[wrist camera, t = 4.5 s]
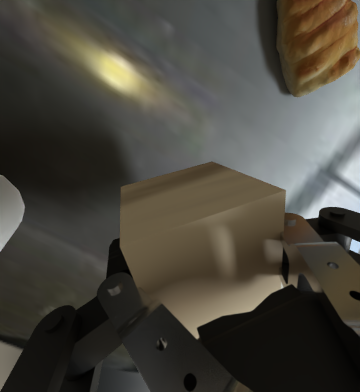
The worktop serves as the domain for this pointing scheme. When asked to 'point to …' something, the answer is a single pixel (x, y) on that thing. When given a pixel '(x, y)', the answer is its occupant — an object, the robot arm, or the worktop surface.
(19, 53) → the worktop surface
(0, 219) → the foam cup
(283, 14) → the pastry
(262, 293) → the maple block
